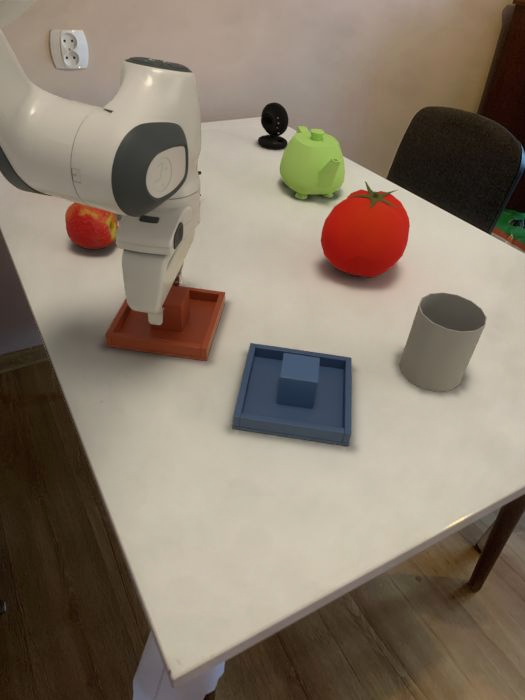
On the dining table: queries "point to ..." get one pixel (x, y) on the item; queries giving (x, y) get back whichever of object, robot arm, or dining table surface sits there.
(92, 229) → the apple
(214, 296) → the rust tray
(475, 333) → the cup
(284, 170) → the teapot
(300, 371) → the blue block
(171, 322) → the rust block
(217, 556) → the dining table surface
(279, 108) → the webcam
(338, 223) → the tomato
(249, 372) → the blue tray
